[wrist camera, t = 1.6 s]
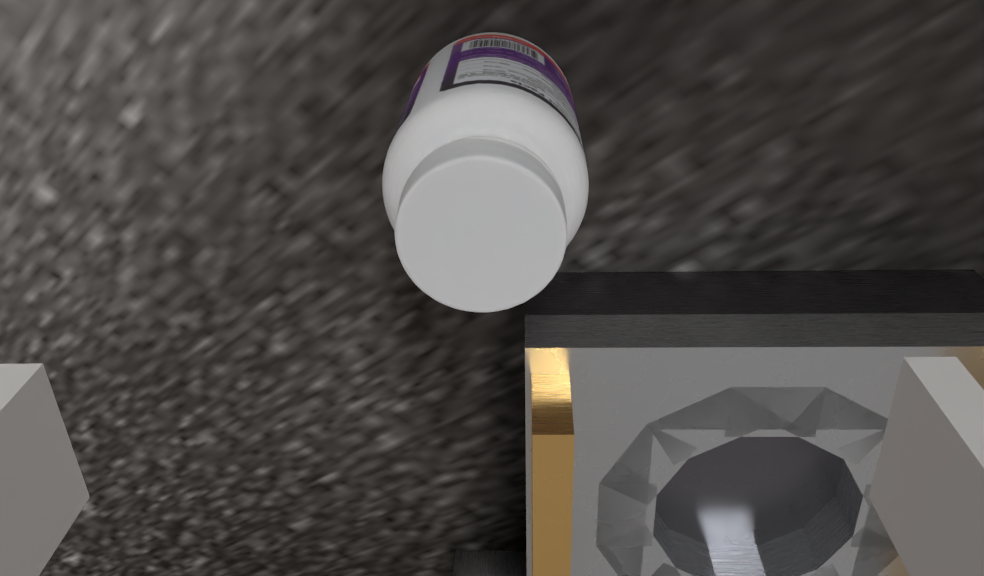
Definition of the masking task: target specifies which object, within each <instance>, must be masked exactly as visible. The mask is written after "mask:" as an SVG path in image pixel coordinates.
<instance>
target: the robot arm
mask: <svg viewBox="0 0 984 576" xmlns="http://www.w3.org/2000/svg"><path fill="white" fill-rule="evenodd" d="M89 498H90V496H89V494H88V491H87V488H86V485H85V482H84V479H83V476H82V474H81V471H80V468H79V465H78V462H77V459H76V457H75V454H74V451H73V448H72V445H71V442H70V439H69V437H68V434H67V431H66V428H65V425H64V422H63V420H62V417H61V414H60V411H59V408H58V405H57V402H56V400H55V397H54V394H53V391H52V388H51V385H50V383H49V380H48V377H47V374H46V371H45V368H44V365H43V364H0V576H39V575H40V573H41V572H42V570H43V569H44V567H45V565H46V564H47V562H48V561H49V559H50V558H51V556H52V555H53V553H54V552H55V550H56V548H57V547H58V545H59V544H60V542H61V541H62V539H63V538H64V536H65V535H66V533H67V532H68V530H69V528H70V527H71V525H72V524H73V522H74V521H75V519H76V518H77V516H78V515H79V513H80V511H81V510H82V508H83V507H84V505H85V504H86V502H87V501H88V499H89ZM869 498H870V500H871V502H872V504H873V506H874V508H875V510H876V512H877V514H878V516H879V518H880V519H881V521H882V523H883V525H884V527H885V529H886V531H887V533H888V535H889V537H890V539H891V541H892V543H893V545H894V546H895V548H896V550H897V552H898V554H899V556H900V558H901V560H902V562H903V564H904V566H905V568H906V570H907V572H908V574H909V575H910V576H984V390H983V389H982V387H981V386H980V385H979V384H978V382H977V381H976V380H975V379H974V378H973V376H972V375H971V374H970V373H969V371H968V370H967V369H966V368H965V367H964V365H963V364H962V363H961V362H960V361H959V359H958V358H957V357H904V358H903V362H902V366H901V370H900V374H899V378H898V382H897V386H896V390H895V394H894V398H893V402H892V406H891V410H890V414H889V418H888V422H887V426H886V430H885V434H884V438H883V442H882V446H881V450H880V454H879V458H878V462H877V466H876V470H875V474H874V478H873V482H872V486H871V490H870V494H869Z"/></svg>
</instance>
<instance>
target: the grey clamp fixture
mask: <svg viewBox="0 0 984 576" xmlns="http://www.w3.org/2000/svg"><path fill="white" fill-rule="evenodd" d="M904 357H957V358H958V359H959V361H960V362H961V363H962V364H963V365H964V367H965V368H966V369H967V370H968V371H969V373H970V374H971V375H972V376H973V378H974V379H975V380H976V381H977V382H978V384H979V385H980V386H981V387H982V389H983V390H984V279H983V278H982V277H981V276H980V275H979V274H977V273H976V272H975V271H974V270H883V271H743V272H604V273H556V274H555V276H554V277H553V279H552V280H551V281H550V282H549V283H548V285H547V286H546V287H545V288H544V289H543V290H542V291H541V292H539V293H538V294H537V295H535V296H534V297H532V298H531V299H529V300H528V301H526V302H525V425H526V551H461V550H456V552H455V557H454V566H453V576H910V575H909V574H908V572H907V570H906V568H905V566H904V564H903V562H902V560H901V558H900V556H899V554H898V552H897V550H896V548H895V546H894V545H893V543H892V541H891V539H890V537H889V535H888V533H887V531H886V529H885V527H884V525H883V523H882V521H881V519H880V518H879V516H878V514H877V512H876V510H875V508H874V506H873V504H872V502H871V500H870V498H869V494H870V490H871V486H872V482H873V478H874V474H875V470H876V466H877V462H878V458H879V454H880V450H881V446H882V442H883V438H884V434H885V430H886V426H887V422H888V418H889V414H890V410H891V406H892V402H893V398H894V394H895V390H896V386H897V382H898V378H899V374H900V370H901V366H902V362H903V358H904Z"/></svg>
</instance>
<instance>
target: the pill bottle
mask: <svg viewBox="0 0 984 576" xmlns="http://www.w3.org/2000/svg"><path fill="white" fill-rule="evenodd" d="M382 191H383V199H384V205H385V209H386V212H387V215H388V218H389V220H390V223H391V225H392V227H393V229H394V231H395V232H394V233H395V244H396V249H397V253H398V256H399V259H400V261H401V264H402V266H403V268H404V269H405V271H406V273H407V274H408V276H409V277H410V278H411V280H412V281H413V282H414V283H415V284H416V286H418V287H419V288H420V289H421V290H422V291H423V292H424V293H426V294H427V295H428V296H430V297H431V298H433V299H434V300H436V301H438V302H440V303H442V304H444V305H446V306H449V307H452V308H455V309H459V310H463V311H469V312H496V311H501V310H505V309H509V308H512V307H514V306H517V305H520V304H522V303H524V302H526V301H528V300H529V299H531V298H532V297H534V296H535V295H537V294H538V293H539V292H541V291H542V290H543V289H544V288H545V287H546V286H547V285H548V283H549V282H550V281H551V280H552V279H553V277H554V276H555V274H556V273H557V271H558V269H559V267H560V265H561V263H562V261H563V257H564V254H565V251H566V247H567V246H568V244H569V243H570V242H571V240H572V239H573V238H574V236H575V234H576V232H577V231H578V229H579V227H580V225H581V222H582V220H583V217H584V214H585V210H586V207H587V201H588V191H589V180H588V170H587V163H586V158H585V153H584V149H583V145H582V140H581V135H580V131H579V126H578V120H577V115H576V111H575V105H574V100H573V96H572V93H571V90H570V87H569V85H568V82H567V80H566V78H565V76H564V74H563V72H562V71H561V69H560V68H559V67H558V65H557V64H556V63H555V61H554V60H553V59H552V58H551V57H550V56H549V55H548V54H547V53H546V52H544V51H543V50H542V49H541V48H539V47H538V46H536V45H535V44H533V43H531V42H529V41H527V40H525V39H523V38H520V37H517V36H514V35H510V34H506V33H497V32H486V33H478V34H473V35H469V36H466V37H463V38H461V39H458V40H456V41H454V42H452V43H450V44H449V45H447V46H446V47H444V48H443V49H441V50H440V51H439V52H438V53H437V54H436V55H435V56H434V57H433V58H432V59H431V60H430V61H429V62H428V64H427V65H426V66H425V68H424V69H423V71H422V72H421V73H420V75H419V77H418V78H417V80H416V82H415V84H414V87H413V89H412V92H411V94H410V97H409V100H408V102H407V105H406V107H405V110H404V112H403V115H402V117H401V119H400V122H399V124H398V127H397V129H396V131H395V134H394V136H393V138H392V141H391V143H390V146H389V149H388V152H387V155H386V159H385V163H384V169H383V178H382Z"/></svg>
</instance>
